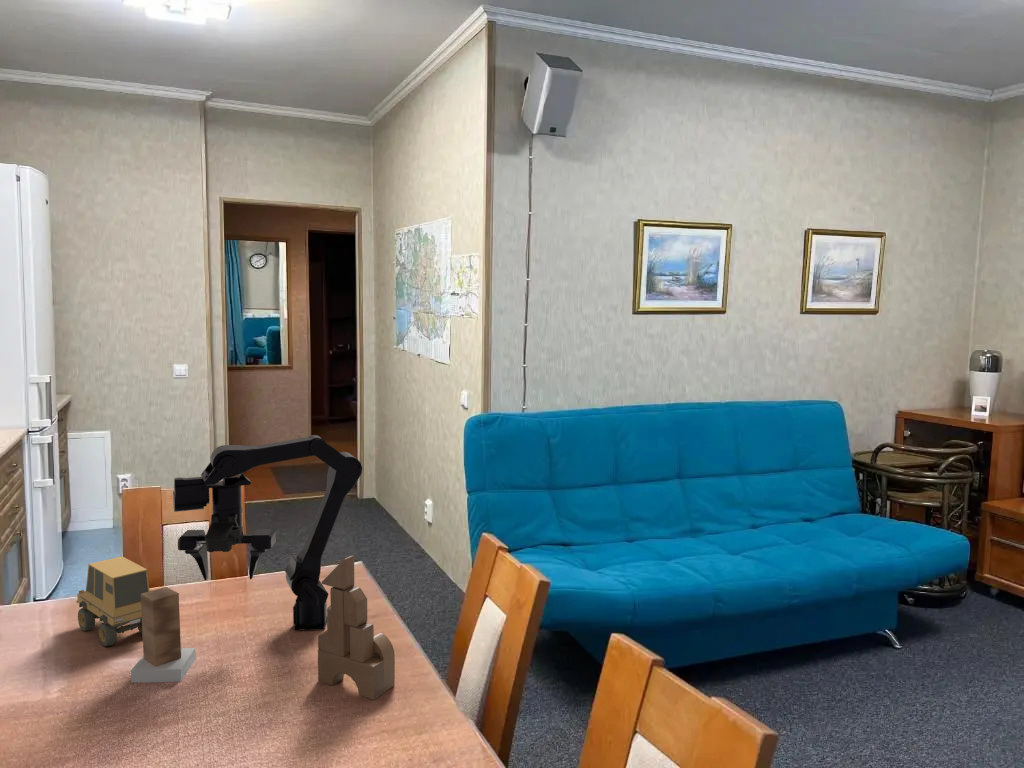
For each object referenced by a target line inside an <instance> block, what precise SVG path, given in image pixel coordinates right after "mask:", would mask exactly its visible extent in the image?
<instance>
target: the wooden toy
mask: <svg viewBox="0 0 1024 768" xmlns="http://www.w3.org/2000/svg"><path fill="white" fill-rule="evenodd" d="M321 583H322V585H323V586H324V585H325V586H328V587H330V589H329V590H330V591H329V592H330V593H329V594H330V605H329V606H328V607H327V623H326V630H325V631H323V632H321V633H319V634H317V679H318V682H321V683H323V684H326V685H329V686H334V685H336V684H337V683H339V682H341V681H343V680H344V676H345V675H346V676H348V677H350V678H351V679H352V681H353V682H354V684H355V685H356V688H357V692H358V696H360V697H362V698H366V699H370V700H372V701H374V700H376V699H378V698H379V697H381V696H382V695H384V694H385V692H386V691H388V690H390V689H392V688H393V687H394V686H395V680H396V676H395V675H396V674H395V673H396V669H395V668H396V666H395V665H396V662H395V661H396V659H395V658H396V656H395V650H394V645H393V643H392V641H391V640H390V639H389V638H388V637H387V635H385V633H383V632H379V633H377V634H376V635H374V631H375V630H374V627H375V626H374V624H373V623H371V622H368V598H367V595H366V594H365V593H364V591H363V589H362V588H361V587H360V586H357V585H355V556H354V555H350V556H347V557H345V558H343V560H342V561H341V562H340V563H338V564H337V565H336V566H335V568H333V570H332V571H331V572H330V573H329V574H328V575H327V576H326V577H325V578H324V579H323V580H322V581H321Z"/></svg>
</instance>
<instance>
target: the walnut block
mask: <svg viewBox="0 0 1024 768" xmlns="http://www.w3.org/2000/svg"><path fill="white" fill-rule="evenodd" d="M141 611H142V633H143V634H142V653H143V655H144V659H145V660H146V661H148V662H149V663H151V664H152V665H154V666H155V667H157V666H159V665H162V664H165V663H168V662H171V661H174V660H176V659H179V658H181V648H182V645H181V621H180V620H181V618H180V617H181V616H180V594H179V592H177V591H175V590H173V589H171V588H169V587H168V586H163V587H159V588H157V589H154V590H150V591H149V592H146V593H142V594H141ZM143 655H142V656H143Z"/></svg>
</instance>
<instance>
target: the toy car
mask: <svg viewBox="0 0 1024 768" xmlns="http://www.w3.org/2000/svg"><path fill="white" fill-rule="evenodd" d="M87 568H88V569H87V576H86V583H85V584H86V586H85V589H81V590H78V593H77V596H76V597H77V598H76V599H77V600H76V603H77V604H78V608H80V609H79V610H78V611H77V620H78V626H79V628H80V630H81V631H83V632H87V631H91V630H93V629H95V626H96V620H99V622H101V623H99V625H98V639H99V642H100V643H101V645H102V647H106V646H107V647H110V646H114V645H115V644H116V643H117V639H118V634H123V633H125V632H128V631H133V630H135V629H137V628H138V629H137V630H138V631H139V633H140V634H141V635H143V633H142V611H141V594H142V593H146V592H149V591H151V590H150V583H149V573H148V569H147V568H145V567H143V566H141V565H140V564H138V563H136V562H134V561H132V560H130V559H128V558H126V557H124V556H118V557H113V558H108V559H105V560H100V561H96V562H92V563H88V567H87ZM119 626H120V627H119Z"/></svg>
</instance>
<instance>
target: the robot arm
mask: <svg viewBox="0 0 1024 768" xmlns="http://www.w3.org/2000/svg"><path fill="white" fill-rule="evenodd" d="M307 457H316V458H318V459H319V460H320V461H322V462H323V463H325V464H326V465H327V466H328V469H327V476H326V488H325V492H324V494H323V497H322V499H321V502H320V505H319V507H318V510H317V512H316V515H315V517H314V521H313V522H312V525H311V528H310V530H309V533H308V536H307V538H306V540H305V543H304V545H303V548H302V550H301V551H300V552H299V553H298V554H297V555H296V554H293V553H291V554H290V556H289V557H290V558H289V561H288V564H287V566H286V567H285V568H284V572H285V580H286V582H287V584H288V586H289V588H290V590H291V591H292V593H293V594H294V595H295V596H296V599H295V603H294V604H293V606H292V614H293V615H292V616H293V617H292V619H293V620H292V621H293V622H292V623H293V625H294V631H321V630H325V629H326V627H327V608H328V607H327V604H328V603H327V599H328V597H329V592H328V591H327V590H326V589H327V588H326V587H324V584H322V581H320V576H321V569H322V568H321V567H322V557H323V554H324V552H325V549H326V546H327V544H328V541H329V538H330V536H331V534H332V531H333V529H334V527H335V524H336V521H337V518H338V516H339V514H340V511H341V508H342V506H343V503H344V501H345V498H346V497H347V495H349V493H350V492H351V491H352V490H353V488H355V485H356V484H357V483H358V481H359V479H360V477H361V475H362V473H363V465H362V463H361V461H360V460H359V459H358V458H357V457H355V456H353V455H352V454H351V453H349V452H347V451H338V450H337V449H335V448H334V447H333V446H332V445H330V444H328V443H327V442H326V441H325V440H324V438H322V437H320V436H319V435H317V434H312V435H309V436H306V437H301V438H300V437H299V438H295V439H289V440H284V441H278V442H277V441H276V442H271V443H266V444H259V445H243V444H223V445H219V446H217V447H215V448H214V450H213V451H212V453H211V455H210V457H209V458H210V460H209V461H210V462H209V463H208V464H207V466H206V467H205V469H204V470H203V471H202V473H201V474H200V476H195V477H174V479H173V482H174V483H173V491H172V499H173V500H172V501H173V502H172V503H173V512H174V513H175V512H176V513H178V512H188V511H189V512H190V511H198V510H199V511H200V510H204V509H205V507H207V505H209V504H210V489H211V496H212V497H211V500H212V504H211V505H212V514H211V518H210V525H209V527H208V530H207V532H206V531H205V530H204V529H186V531H185V532H183V534H182V535H180V536H179V538H178V540H177V550H179V551H184V553H185V554H186V555H190V556H191V557H192V558H193V559H194V560H195V562H196V564H197V566H198V568H199V570H200V573H201V575H202V577H203V579H204V581H207V580H208V579H209V561H208V560H209V559H208V553H214V552H222V553H227V552H230V551H231V550H232V549H233V546H236V545H242V544H244V545H245V544H246V545H247V544H250V546H251V547H252V548H251V549H250V550H249V555H250V561H249V562H250V563H249V571H248V572H249V573H248V574H249V575H248V576H249V580H252V579H253V578H254V575H255V572H256V569H257V566H258V563H259V560H260V557H261V555H262V553H266V551H268V550H270V549H272V547H273V546H274V545H275V543H276V541H277V533H276V531H275V530H274V529H273V528H263V529H262V528H257V529H256V530H255V531H254V532H253V533H245V534H244V527H243V506H242V486H250V485H252V481H251V480H250V479H249V477H247V476H245V475H244V473H247V472H248V471H250V470H252V469H255V468H257V467H260V466H263V465H268V464H274V463H279V462H285V461H291V460H296V459H301V458H307Z"/></svg>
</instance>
